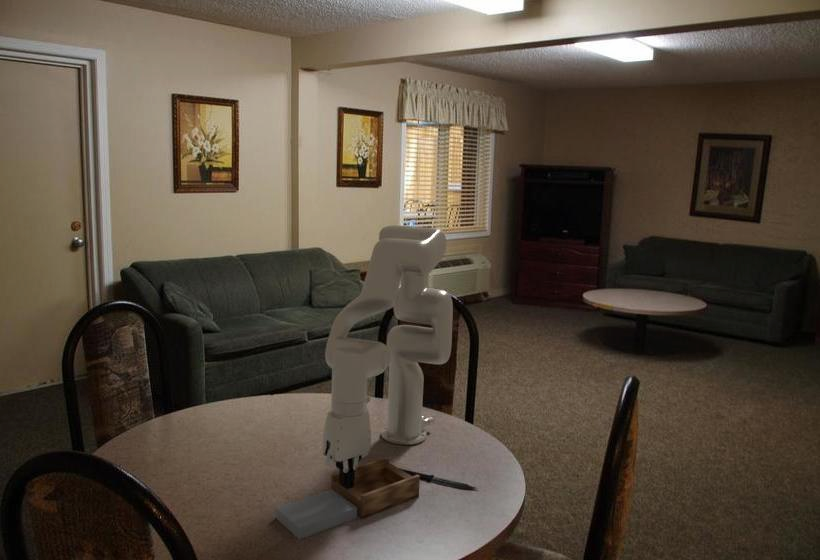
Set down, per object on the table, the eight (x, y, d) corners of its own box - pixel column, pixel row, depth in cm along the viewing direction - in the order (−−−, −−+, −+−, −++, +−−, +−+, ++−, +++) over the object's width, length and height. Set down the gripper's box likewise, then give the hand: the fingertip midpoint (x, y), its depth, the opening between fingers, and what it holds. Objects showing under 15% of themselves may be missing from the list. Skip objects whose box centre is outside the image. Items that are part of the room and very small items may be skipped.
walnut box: (386, 476, 156) (386, 456, 156) (418, 497, 148) (419, 475, 147) (330, 496, 146) (331, 474, 145) (362, 519, 137) (362, 496, 136)
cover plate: (331, 501, 145) (332, 489, 145) (356, 520, 138) (357, 507, 137) (275, 520, 136) (275, 507, 136) (299, 542, 129) (299, 528, 129)
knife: (394, 471, 158) (399, 465, 160) (394, 476, 158) (399, 471, 161) (476, 489, 150) (480, 483, 153) (476, 495, 150) (480, 489, 153)
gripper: (366, 394, 145) (363, 470, 148) (309, 407, 136) (307, 489, 139) (387, 404, 140) (384, 483, 143) (329, 419, 130) (327, 503, 133)
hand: (346, 485), depth 141 cm, fingers closed
